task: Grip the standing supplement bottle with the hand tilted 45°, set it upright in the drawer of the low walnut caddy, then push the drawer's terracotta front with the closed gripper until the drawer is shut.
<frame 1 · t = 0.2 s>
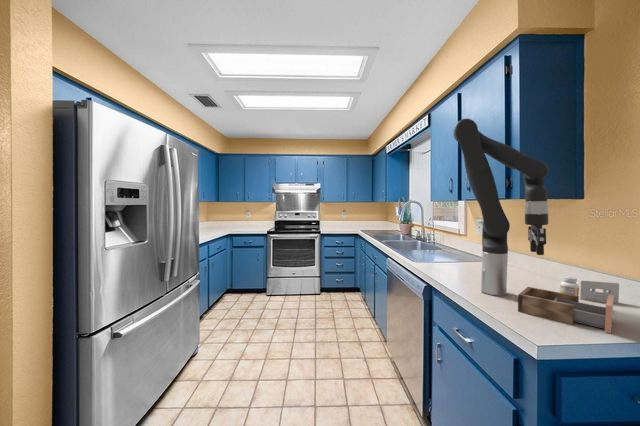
hand: (536, 253, 115), 18 cm above the worktop, tool pointing down, fingers open, 8 cm apart
caddy: (553, 313, 100), on the worktop
cassette: (598, 301, 113), on the worktop
supplement bottle: (568, 302, 111), on the worktop
drawer: (580, 306, 94), point 4 cm above the worktop, slide at 7.0 cm
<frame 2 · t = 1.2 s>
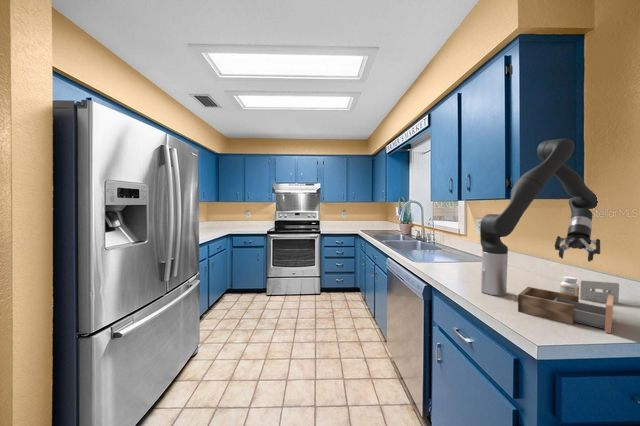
hand: (575, 258, 118), 15 cm above the worktop, tool tilted 45°, fingers open, 8 cm apart
nothing on the worktop moved.
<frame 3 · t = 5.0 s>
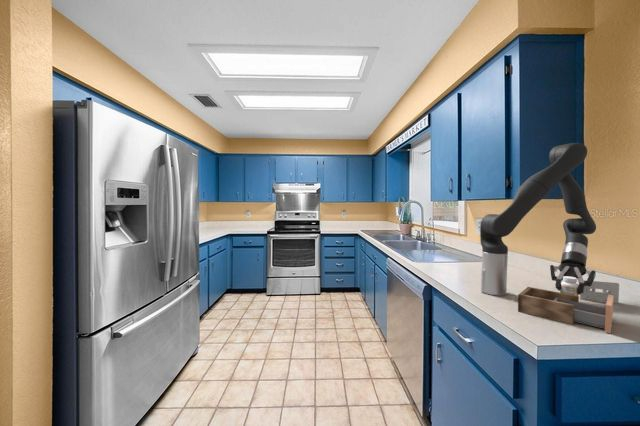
hand: (568, 291, 110), 5 cm above the worktop, tool tilted 45°, fingers closed on supplement bottle, 5 cm apart
supplement bottle: (568, 302, 111), on the worktop, touching gripper
everything else where it was.
when the fingers open (7 cm above the worktop, at t = 10.2 s): supplement bottle drops 1 cm, resting on drawer.
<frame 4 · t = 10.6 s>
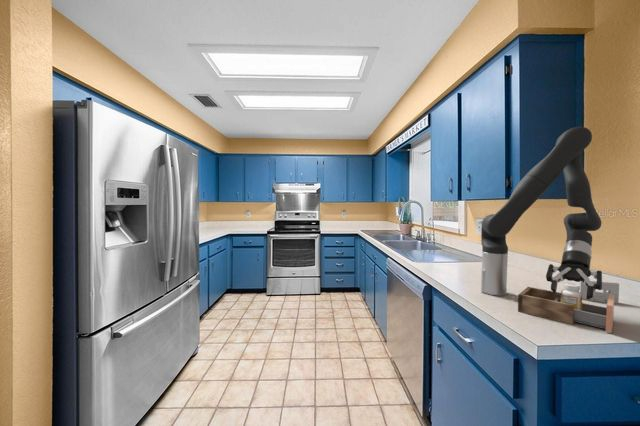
hand: (570, 294, 95), 8 cm above the worktop, tool tilted 45°, fingers open, 8 cm apart
supplement bottle: (570, 313, 97), point 1 cm above the worktop, touching drawer
drawer: (581, 306, 94), point 4 cm above the worktop, slide at 7.2 cm, touching supplement bottle
everything else where it was.
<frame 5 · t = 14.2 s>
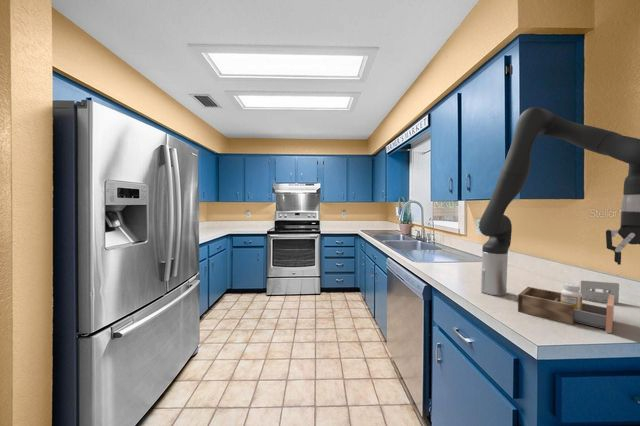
hand: (636, 266, 85), 20 cm above the worktop, tool pointing down, fingers open, 6 cm apart
nothing on the worktop moved.
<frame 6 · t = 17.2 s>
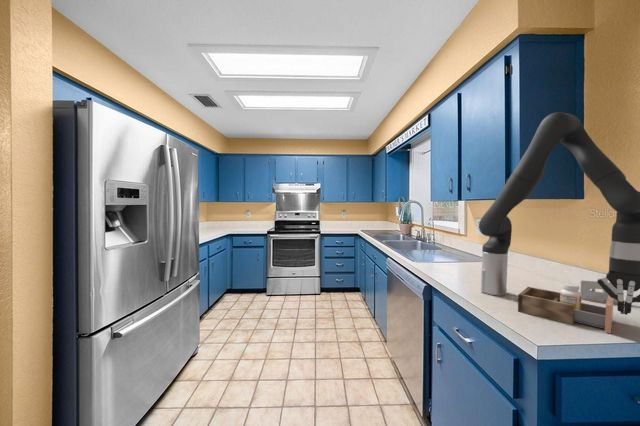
hand: (624, 313, 87), 5 cm above the worktop, tool pointing down, fingers closed
drawer: (580, 306, 94), point 4 cm above the worktop, slide at 7.0 cm, touching supplement bottle, gripper
everything else where it was.
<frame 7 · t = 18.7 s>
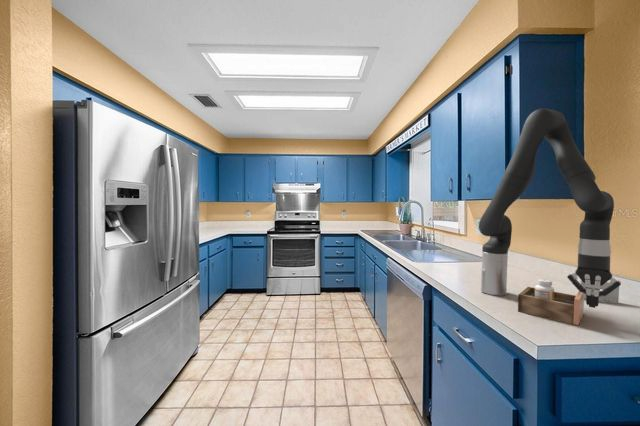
hand: (592, 306, 93), 5 cm above the worktop, tool pointing down, fingers closed
supplement bottle: (543, 308, 102), point 1 cm above the worktop, touching drawer
drawer: (553, 301, 100), point 4 cm above the worktop, slide at -0.1 cm, touching supplement bottle, gripper
everything else where it was.
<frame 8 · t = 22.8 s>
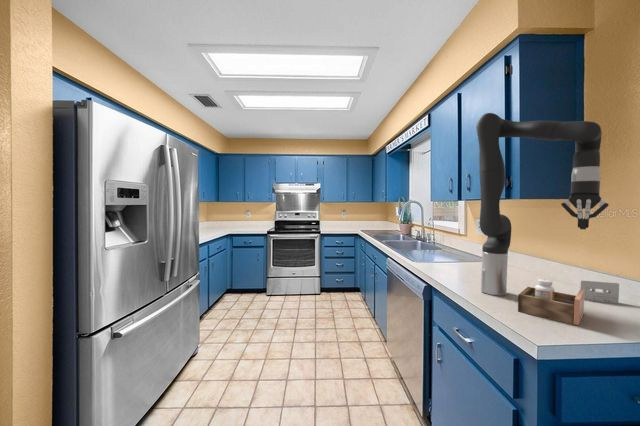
hand: (583, 229, 102), 29 cm above the worktop, tool pointing down, fingers closed
drawer: (553, 301, 100), point 4 cm above the worktop, slide at 0.0 cm, touching supplement bottle
everything else where it was.
at the end: drawer slide at 0.0 cm; supplement bottle inside the target area on the caddy (0.5 cm from its centre), point 1.1 cm above the caddy's base; supplement bottle tilted 0° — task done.
